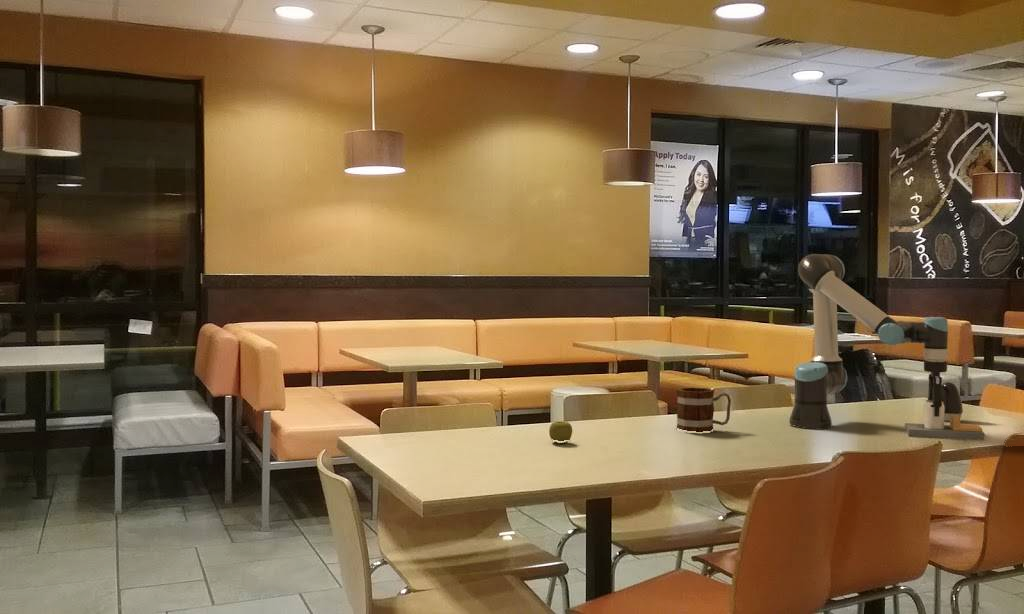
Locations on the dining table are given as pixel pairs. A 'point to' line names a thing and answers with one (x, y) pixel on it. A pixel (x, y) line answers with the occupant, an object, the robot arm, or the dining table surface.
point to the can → (929, 416)
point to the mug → (698, 409)
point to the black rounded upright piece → (951, 400)
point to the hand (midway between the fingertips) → (934, 423)
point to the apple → (560, 431)
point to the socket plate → (941, 432)
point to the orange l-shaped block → (962, 427)
